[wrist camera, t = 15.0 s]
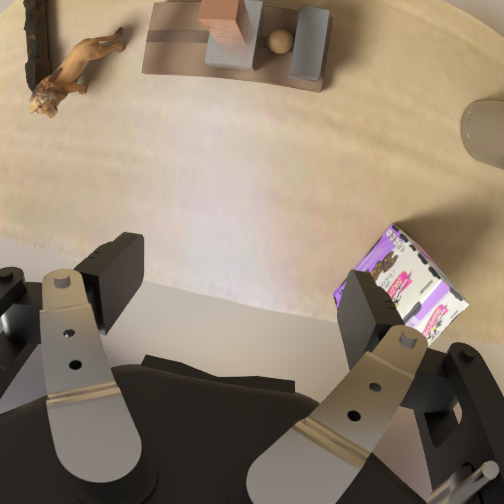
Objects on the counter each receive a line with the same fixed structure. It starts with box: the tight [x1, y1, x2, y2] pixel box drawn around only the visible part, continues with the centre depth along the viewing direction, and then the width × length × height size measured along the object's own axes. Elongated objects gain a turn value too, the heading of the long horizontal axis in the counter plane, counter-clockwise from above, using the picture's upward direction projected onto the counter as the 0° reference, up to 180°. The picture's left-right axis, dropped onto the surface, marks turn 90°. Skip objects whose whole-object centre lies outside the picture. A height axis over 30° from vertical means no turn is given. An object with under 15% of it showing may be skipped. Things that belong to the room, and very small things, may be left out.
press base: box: [142, 2, 332, 93], centre depth 30 cm, size 22×10×7 cm, turn 82°
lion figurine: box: [29, 27, 124, 118], centre depth 31 cm, size 15×5×9 cm, turn 138°
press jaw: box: [198, 0, 264, 72], centre depth 26 cm, size 5×8×13 cm, turn 172°
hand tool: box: [23, 0, 52, 92], centre depth 32 cm, size 19×4×5 cm, turn 8°
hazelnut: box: [267, 30, 293, 54], centre depth 30 cm, size 3×3×3 cm
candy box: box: [333, 224, 469, 346], centre depth 37 cm, size 14×6×16 cm, turn 147°
